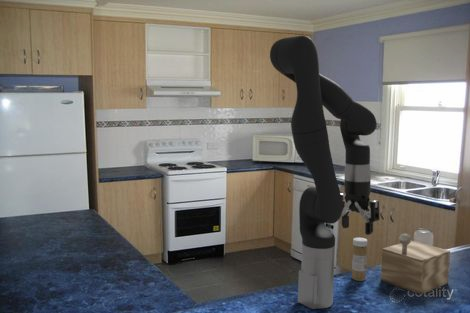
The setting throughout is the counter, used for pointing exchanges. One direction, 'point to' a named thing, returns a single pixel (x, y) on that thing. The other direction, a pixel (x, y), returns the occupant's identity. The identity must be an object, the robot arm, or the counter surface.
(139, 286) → the counter surface
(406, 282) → the wooden box
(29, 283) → the counter surface
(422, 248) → the wooden box lid
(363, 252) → the sprinkles bottle
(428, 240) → the can
